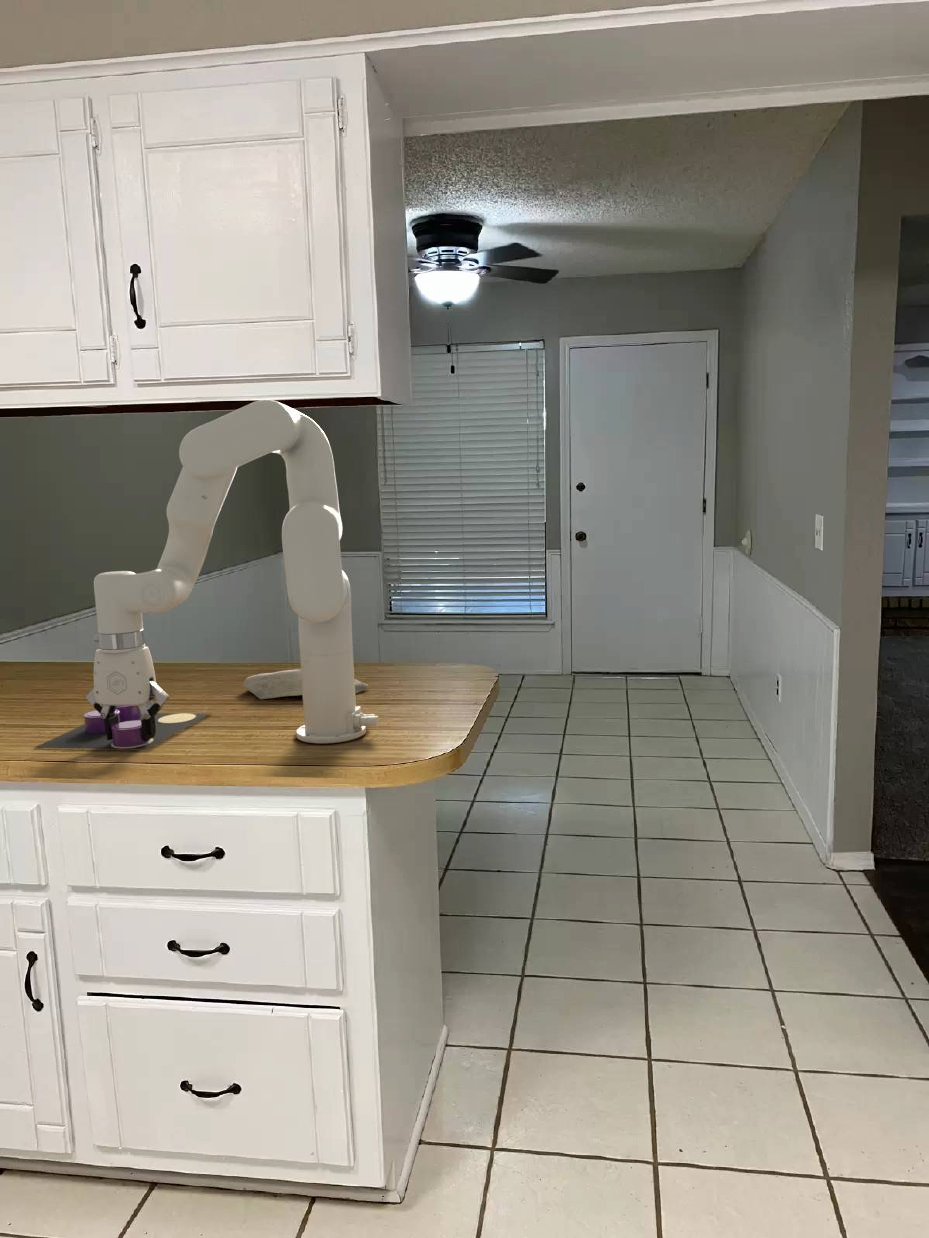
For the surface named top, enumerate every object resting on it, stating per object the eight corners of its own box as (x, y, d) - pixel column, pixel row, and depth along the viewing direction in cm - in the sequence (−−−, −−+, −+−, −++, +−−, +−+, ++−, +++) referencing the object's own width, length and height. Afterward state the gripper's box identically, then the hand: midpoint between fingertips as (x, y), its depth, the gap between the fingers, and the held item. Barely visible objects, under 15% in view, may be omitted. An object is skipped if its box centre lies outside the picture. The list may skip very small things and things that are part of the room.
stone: (225, 679, 197) (265, 667, 211) (231, 712, 198) (270, 697, 211) (333, 668, 186) (367, 655, 200) (339, 702, 187) (373, 687, 201)
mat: (209, 715, 182) (209, 713, 182) (146, 751, 159) (146, 748, 158) (110, 714, 186) (110, 712, 186) (35, 749, 163) (35, 746, 163)
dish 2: (148, 714, 183) (146, 698, 182) (130, 723, 177) (129, 706, 176) (119, 714, 184) (117, 698, 184) (101, 722, 178) (99, 706, 177)
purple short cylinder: (156, 737, 166) (155, 719, 165) (138, 747, 159) (136, 729, 159) (125, 736, 167) (123, 719, 166) (105, 746, 161) (103, 729, 160)
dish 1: (127, 724, 176) (125, 708, 175) (108, 734, 169) (107, 717, 169) (97, 724, 177) (96, 708, 176) (78, 733, 171) (76, 716, 170)
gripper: (65, 644, 158) (75, 743, 161) (155, 644, 155) (164, 745, 158) (90, 637, 165) (99, 731, 168) (177, 637, 162) (185, 733, 165)
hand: (131, 737), depth 163 cm, fingers closed on purple short cylinder, 6 cm apart
